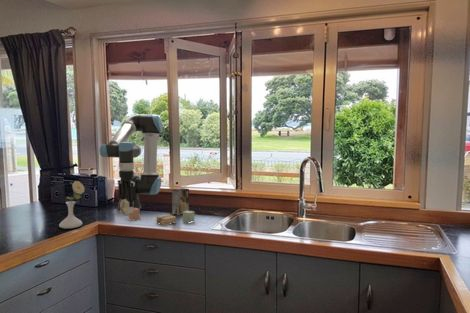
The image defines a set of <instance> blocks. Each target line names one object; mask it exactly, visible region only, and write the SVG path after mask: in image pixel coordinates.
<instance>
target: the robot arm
mask: <svg viewBox="0 0 470 313" xmlns="http://www.w3.org/2000/svg"><path fill="white" fill-rule="evenodd" d="M120 125H121V126H120V128H119V129H118V130H117V132H116V133H115V134H114V136H113V137H112V138H111V140H110V141H108V143H103V144H101V145H100V146H99V155H100V156H101V157H103V158H118V163H119V165H118V166H119V168H118V169H119V171H118V172H119V174H118V176H119V178H120V179H119V180H117V188H118V189H117V190H118V191H117V193H118V196H117V197H118V199H119V201H118V205H117V211H119V212H120V202H123V201H128V213H132V212H133V208H138V209H140V210H141V209H142V204H141V201H140V198H139V195H150V196H151V195H158V194H159V193H160V191H161V186H162V177H161V176H159V173H158V172H157V164H158V160H157V159H158V137H159V136H160V135H161V132H163V131H164V130H163V129H164V125H163V120H162V117H161V116H160V115H159V114H154V113H152V114H150V113H149V114H146V113H145V114H142V113H140V114H139V113H137V114H134V115H131V116H129V117H127V118H126V119H125V120H123V122H122V123H121V124H120ZM136 132H141V134H142V135H143V138H144V140H143V143H144V144H143V172H142V173H141V174H140V176H139V174H137V173H136V174H134V168H135V166H134V159H135V158H136V159H137V157H139V156H140V155H141V154H142V148H141V146H140V145H138V144H136V143H135V144H134V142H133V141H128V140H129V138H130V137H131V136H132V135H133V134H134V133H136Z"/></svg>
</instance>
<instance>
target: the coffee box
mask: <svg viewBox="0 0 470 313" xmlns="http://www.w3.org/2000/svg"><path fill="white" fill-rule="evenodd" d="M171 195H172V197H171V205H172V206H171V210H172V214H171V215H174V214H177V215H176V216H178V215H179V216H181V215H180V214H183V212H185V211H190V206H189V205H190V190H189V188H186V187H185V188H184V187H182V188H181V187H180V188H176V189H175V188H174V189H172V190H171Z"/></svg>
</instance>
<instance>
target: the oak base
mask: <svg viewBox="0 0 470 313" xmlns="http://www.w3.org/2000/svg"><path fill="white" fill-rule="evenodd" d="M155 217H156V218H155V220H156V221H155V222H157V223H156V224H158V223H160V224H159V225H161V224H163V225H162V226H164V225H165V226H167V225H166V224H170V223H174V222H176V223H177V216H176V215H173V214H169V213H168V214H164V215H163V214H162V215H157V216H155ZM174 224H175V223H174ZM170 225H171V224H170Z"/></svg>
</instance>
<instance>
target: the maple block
mask: <svg viewBox="0 0 470 313" xmlns="http://www.w3.org/2000/svg"><path fill="white" fill-rule="evenodd" d="M119 213H121V214H122V215H123V214H124V215H128V214H129V213H128V201H123V202H120V211H119ZM132 213H133V212H132Z"/></svg>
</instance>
